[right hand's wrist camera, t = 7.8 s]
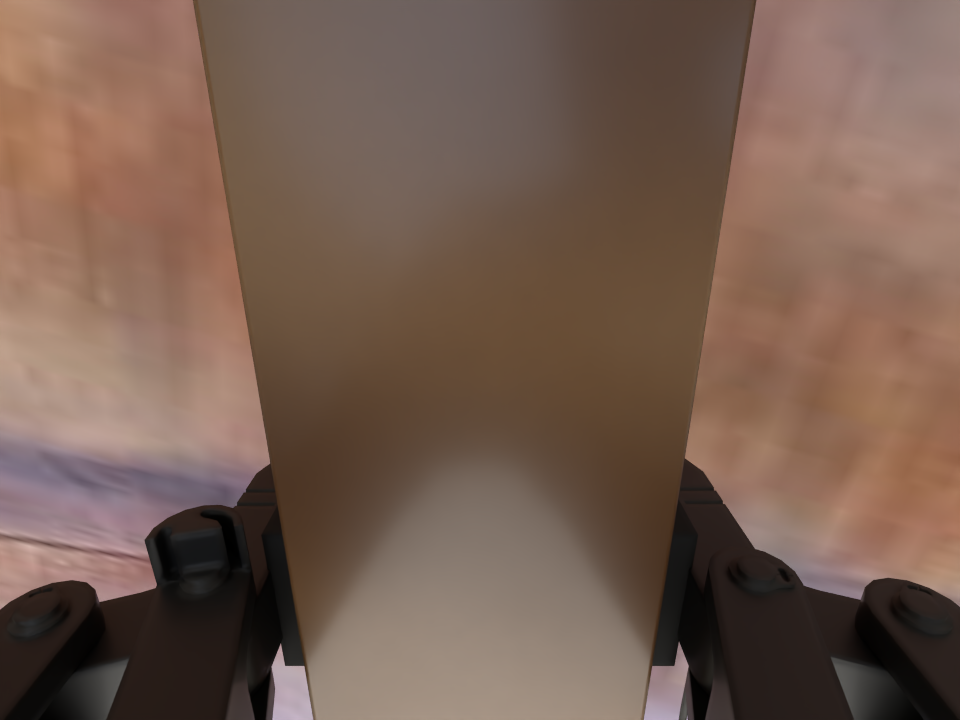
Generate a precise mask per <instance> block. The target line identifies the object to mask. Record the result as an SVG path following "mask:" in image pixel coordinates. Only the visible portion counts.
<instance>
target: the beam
mask: <svg viewBox="0 0 960 720" xmlns="http://www.w3.org/2000/svg"><path fill="white" fill-rule="evenodd" d="M193 3H194V9H195V15H196V21H197V27H198V33H199V39H200V45H201V51H202V57H203V63H204V69H205V75H206V81H207V87H208V93H209V99H210V105H211V111H212V117H213V123H214V128H215V134H216V140H217V146H218V152H219V158H220V164H221V170H222V176H223V182H224V188H225V194H226V200H227V206H228V212H229V218H230V224H231V230H232V236H233V242H234V248H235V254H236V260H237V266H238V272H239V278H240V284H241V290H242V296H243V302H244V308H245V314H246V320H247V326H248V332H249V338H250V344H251V349H252V355H253V361H254V367H255V373H256V379H257V385H258V391H259V397H260V403H261V409H262V415H263V421H264V427H265V433H266V439H267V445H268V451H269V457H270V463H271V469H272V475H273V481H274V487H275V493H276V499H277V505H278V511H279V517H280V523H281V529H282V535H283V541H284V547H285V553H286V559H287V564H288V570H289V576H290V582H291V588H292V594H293V600H294V606H295V612H296V618H297V624H298V630H299V636H300V642H301V648H302V654H303V660H304V666H305V672H306V678H307V684H308V690H309V696H310V702H311V708H312V714H313V720H644V714H645V708H646V701H647V695H648V689H649V682H650V676H651V669H652V663H653V657H654V650H655V644H656V637H657V631H658V625H659V618H660V612H661V605H662V599H663V593H664V586H665V580H666V574H667V567H668V561H669V554H670V548H671V542H672V535H673V529H674V522H675V516H676V510H677V503H678V497H679V490H680V484H681V478H682V471H683V465H684V458H685V452H686V446H687V439H688V433H689V426H690V420H691V414H692V407H693V401H694V394H695V388H696V382H697V375H698V369H699V362H700V356H701V350H702V343H703V337H704V331H705V324H706V318H707V311H708V305H709V299H710V292H711V286H712V279H713V273H714V267H715V260H716V254H717V247H718V241H719V235H720V228H721V222H722V215H723V209H724V203H725V196H726V190H727V183H728V177H729V171H730V164H731V158H732V151H733V145H734V139H735V132H736V126H737V120H738V113H739V107H740V100H741V94H742V88H743V81H744V75H745V68H746V62H747V56H748V49H749V43H750V36H751V30H752V24H753V17H754V11H755V4H756V0H193Z"/></svg>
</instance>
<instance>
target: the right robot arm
mask: <svg viewBox="0 0 960 720" xmlns="http://www.w3.org/2000/svg"><path fill="white" fill-rule="evenodd" d="M145 544H146V547H147V551H148V554H149V558H150V561H151V565H152V569H153V572H154V576H155V579H156V583H157V586H156V588H155V589H151V590H148V591H145V592H141V593H137V594H133V595H129V596H124V597H120V598H116V599H111V600H107V601H103V602H99V600H98V597H97V594H96V591H95V589H94V588H93V587H91V586H90V585H89V584H88V583H86V582H80V581H74V580H70V581H63V582H56V583H51V584H48V585H45V586H43V587H39V588H37V589H34V590H31V591H29V592H27V593H26V594H24V595H22V596H20V597H18V598H16V599H14V600H13V601H11V602H9V603H8V604H7V605H6V606H4V607H3V608H2V609H1V610H0V720H272V717H273V706H274V695H275V685H274V678H273V673H272V668H271V666H272V664H273V661H274V659H275V656H276V654H277V651H278V649H279V646H280V644H281V645H282V651H283V656H284V662H285V666H304V660H303V654H302V648H301V642H300V636H299V630H298V624H297V618H296V612H295V606H294V600H293V594H292V588H291V582H290V576H289V570H288V564H287V559H286V553H285V547H284V541H283V535H282V529H281V523H280V517H279V511H278V505H277V499H276V493H275V487H274V481H273V475H272V469H271V463H270V464H269V465H268V466H266V467H265V468H263V469H262V470H261V471H259V472H258V473H257V474H256V475H255V477H254V478H253V480H252V481H251V483H250V484H249V486H248V487H247V489H246V493H243V495H242V496H241V498H240V499H239V501H238V502H237V506H235V507H234V508H230V507H226V506H223V505H205V506H200V507H196V508H192V509H187V510H184V511H182V512H180V513H178V514H175V515H173V516H171V517H169V518H167V519H166V520H164V521H163V522H162V523H160V524H159V525H157V526H156V527H155V528H153V530H152V531H151V532H150V534H149V535H148V536H147V538H146V539H145ZM679 642H680V645H681V647H682V650H683V652H684V655H685V657H686V660H687V662H688V665H689V668H688V673H687V678H686V683H685V688H684V693H683V698H682V703H681V708H680V715H679V720H686V719H687V715H688V720H960V607H959V606H958V605H957V604H955V603H954V602H953V601H952V600H950V599H949V598H947V597H945V596H943V595H941V594H939V593H937V592H936V591H934V590H932V589H930V588H928V587H925V586H922V585H919V584H916V583H913V582H910V581H907V580H900V579H893V578H884V579H878V580H873V581H872V582H871V583H870V584H868V585H867V586H866V587H865V589H864V592H863V595H862V598H861V600H858V599H854V598H850V597H845V596H841V595H837V594H832V593H828V592H824V591H819V590H816V589H813V588H809V587H806V586H804V585H803V583H802V582H801V580H800V579H799V577H798V576H797V574H796V573H795V571H794V570H792V569H791V568H790V567H789V566H788V565H786V564H785V563H784V562H783V561H781V560H780V559H778V558H776V557H774V556H772V555H770V554H768V553H766V552H763V551H760V550H756V549H755V548H754V547H753V545H752V544H751V542H750V541H749V539H748V538H747V536H746V535H745V533H744V532H743V530H742V529H741V527H740V526H739V524H738V523H737V521H736V520H735V518H734V517H733V516H732V514H731V513H730V511H729V510H728V508H727V507H726V505H725V504H723V501H722V499H721V498H720V496H719V495H718V493H717V492H716V491H714V487H713V486H712V484H711V483H710V481H709V480H708V478H707V477H706V475H705V474H704V472H703V471H701V470H700V469H699V468H697V467H696V466H695V465H693V464H692V463H690V462H689V461H688V460H686V459H685V458H684V465H683V471H682V478H681V484H680V490H679V497H678V503H677V510H676V516H675V522H674V529H673V535H672V542H671V548H670V554H669V561H668V567H667V574H666V580H665V586H664V593H663V599H662V605H661V612H660V618H659V625H658V631H657V637H656V644H655V650H654V657H653V663H652V666H674V665H675V659H676V654H677V648H678V643H679Z"/></svg>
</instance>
